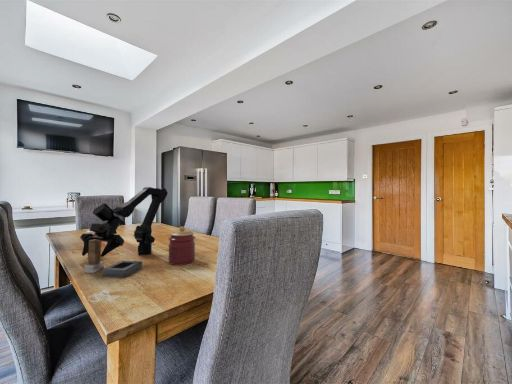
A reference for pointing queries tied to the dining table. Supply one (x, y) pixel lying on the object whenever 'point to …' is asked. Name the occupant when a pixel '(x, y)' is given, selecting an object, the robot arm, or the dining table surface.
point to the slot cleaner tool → (94, 257)
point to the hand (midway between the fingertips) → (92, 255)
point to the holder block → (122, 269)
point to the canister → (181, 247)
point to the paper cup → (94, 236)
